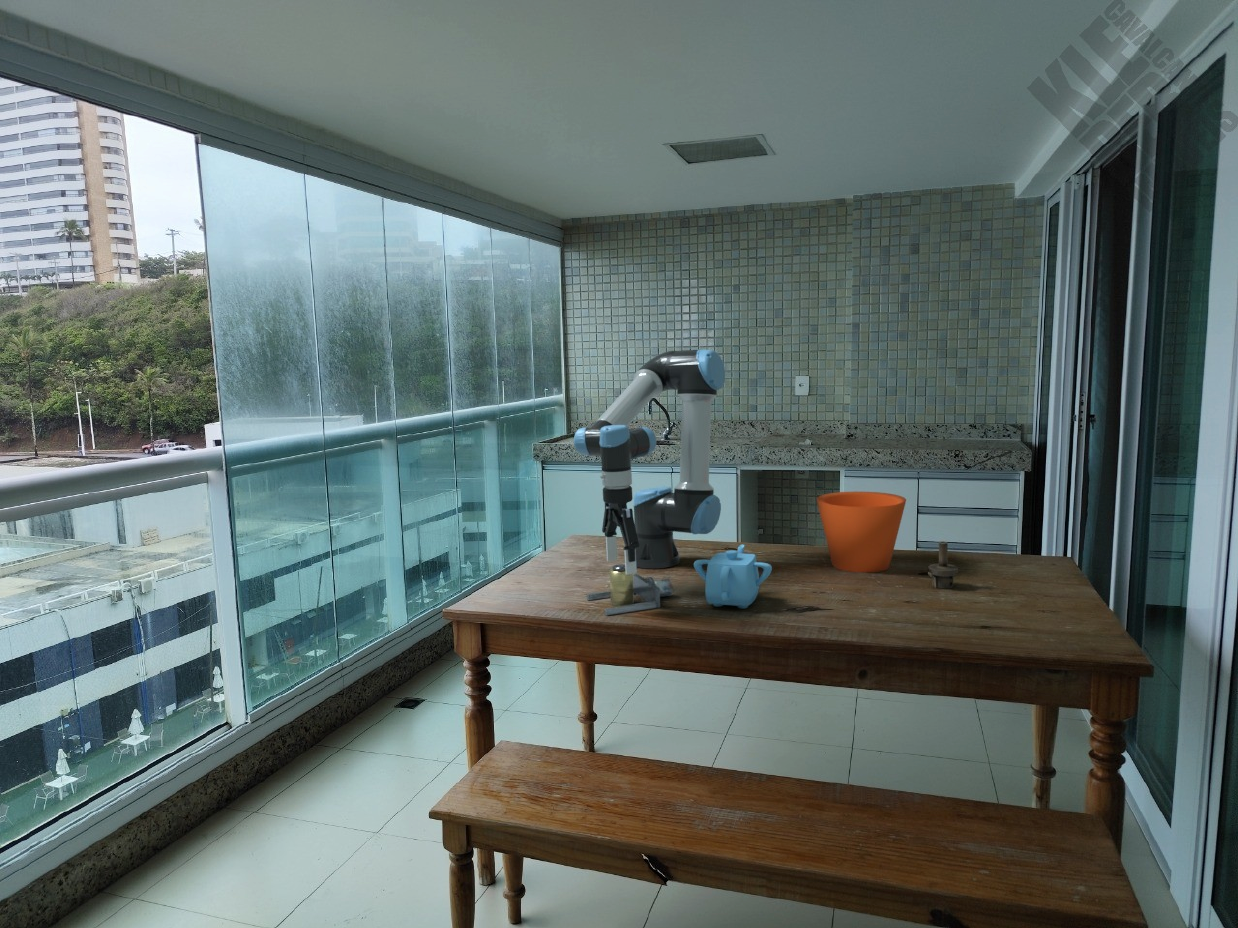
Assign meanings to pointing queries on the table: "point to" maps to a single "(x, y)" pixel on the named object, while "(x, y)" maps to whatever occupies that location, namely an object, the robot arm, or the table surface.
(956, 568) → the industrial component
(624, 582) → the yellow jar
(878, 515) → the flowerpot
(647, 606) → the flange cradle
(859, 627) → the table surface
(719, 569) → the light blue boxy pot
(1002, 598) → the table surface
